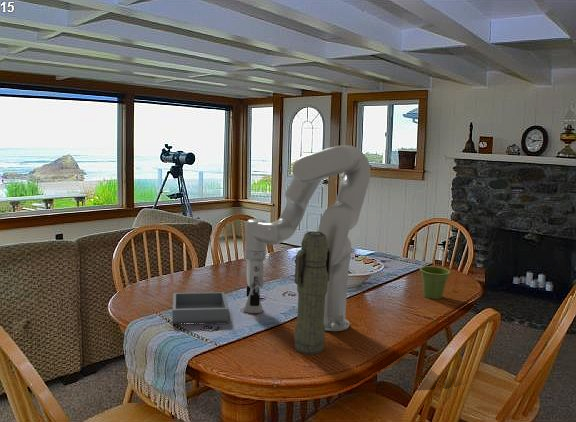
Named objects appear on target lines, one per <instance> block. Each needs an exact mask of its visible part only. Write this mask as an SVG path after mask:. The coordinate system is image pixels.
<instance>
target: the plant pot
mask: <svg viewBox="0 0 576 422" xmlns="http://www.w3.org/2000/svg"><path fill="white" fill-rule="evenodd" d="M419 271H420V272H421V278H422V281H421V282H422V292H423V297H425V298H427V299H433V300H440V299H442V297H443V294H444V290H445V288H446V287H445V286H446V284H447V280H448V278H449V275H450V274H451V271H450V270H449V269H447V268H444V267H440V266H432V265H430V266H429V265H428V266H425V265H424V266H421V267H419Z"/></svg>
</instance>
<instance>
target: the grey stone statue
mask: <svg viewBox="0 0 576 422" xmlns="http://www.w3.org/2000/svg"><path fill="white" fill-rule="evenodd" d="M330 268H331V250H330V248H328V243H327V239H326V235H325V234H323V233H322V232H317V231H307V232H305V233H304V235H303V237H302V241H301V248H300V249H299V250H297V253H296V255H295V267H294V269H295V271H294V283H295V284H296V285H297V286H296V287H297V288H296V290H297V293H298V296H297V297H298V298H297V313H296V315H297V316H296V323H295V325H294V335H293V336H294V339H293V340H294V346H293V347H294V350H295V351H297V352H299V353H301V354H303V355H304V354H305V355H317V354H319V353H322V352H323V351H324V343H325V339H326V338H325V337H326V334H325V333H326V331H325V326H324V308H325V295H326V293H327V285H328V281H329V279H330Z"/></svg>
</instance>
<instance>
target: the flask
mask: <svg viewBox="0 0 576 422" xmlns="http://www.w3.org/2000/svg"><path fill="white" fill-rule="evenodd" d="M253 290H254V289H253ZM250 294H251V288H250V293H249V296H248V297H247V298H246V302H245V304H244V306H243V312H245V313H249V314H260V313H262V312H263V311H264V309H263V305H262V302H261V300H260V301H259V306H250Z"/></svg>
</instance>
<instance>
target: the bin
mask: <svg viewBox="0 0 576 422" xmlns="http://www.w3.org/2000/svg"><path fill="white" fill-rule="evenodd" d="M172 295H173V296H172V317H171V318H172V324H181V323H182V324H184V323H185V324H186V323H194V324H193V325H200V324H199V323H205V324H204V325H212V324H211V323H226V324H229V310H230V309H229V305H228V300H227V297H226V295H225V292H224V291H222V292H221V291H220V292H216V291H215V292H209V291H208V292H207V291H206V292H173V293H172ZM195 323H196V324H195ZM197 323H198V324H197ZM206 323H208V324H206ZM209 323H210V324H209ZM172 324H171V325H172Z"/></svg>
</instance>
